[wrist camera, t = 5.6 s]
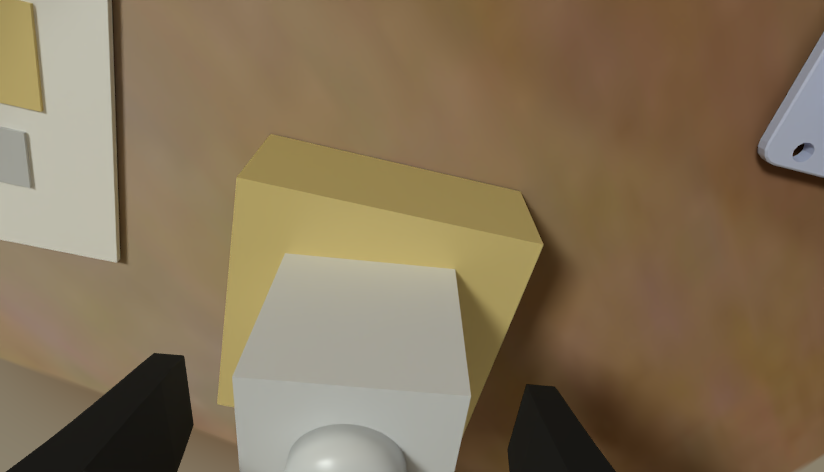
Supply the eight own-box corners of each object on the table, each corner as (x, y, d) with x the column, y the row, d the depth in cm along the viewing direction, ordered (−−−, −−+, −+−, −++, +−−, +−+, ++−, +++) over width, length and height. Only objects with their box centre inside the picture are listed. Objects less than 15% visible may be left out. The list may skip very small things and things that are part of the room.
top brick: (455, 269, 12) (476, 435, 8) (433, 391, 14) (441, 577, 10) (284, 253, 12) (216, 414, 8) (286, 379, 14) (231, 564, 10)
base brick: (520, 191, 15) (543, 244, 12) (452, 372, 18) (458, 445, 15) (270, 133, 14) (236, 177, 11) (247, 334, 17) (217, 404, 14)
